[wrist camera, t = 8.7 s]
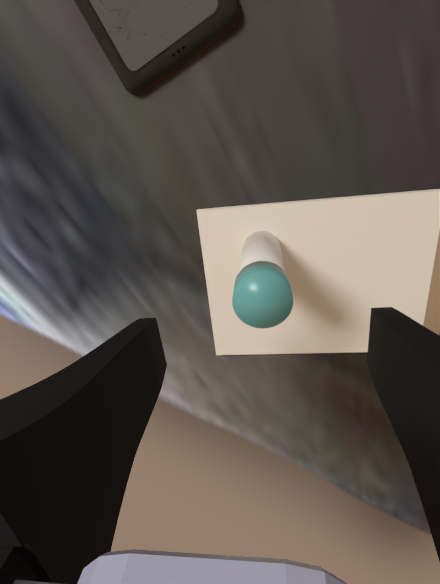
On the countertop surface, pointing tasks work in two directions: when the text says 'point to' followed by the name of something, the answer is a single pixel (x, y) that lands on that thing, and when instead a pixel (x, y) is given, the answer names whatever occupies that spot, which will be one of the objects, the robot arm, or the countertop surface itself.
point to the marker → (262, 283)
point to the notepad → (328, 268)
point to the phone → (155, 34)
